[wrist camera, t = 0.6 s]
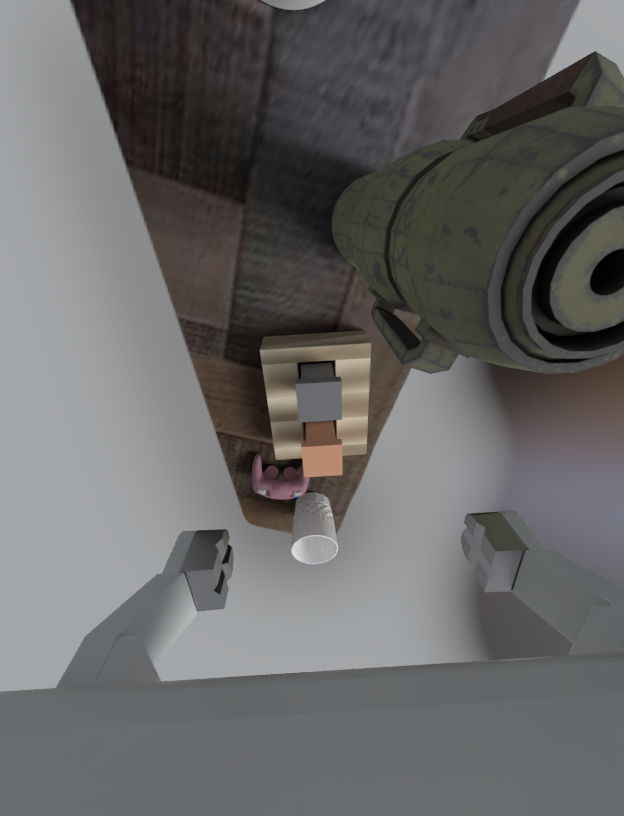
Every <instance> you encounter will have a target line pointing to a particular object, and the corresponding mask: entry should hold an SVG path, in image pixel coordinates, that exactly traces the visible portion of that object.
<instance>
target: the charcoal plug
mask: <svg viewBox="0 0 624 816" xmlns="http://www.w3.org/2000/svg"><path fill="white" fill-rule="evenodd" d="M296 395H297V406H298V417H299V422H314V421H330V420H342V380H341V377H334V372H333V367H332V362H330V363H315V364H301V379H296Z"/></svg>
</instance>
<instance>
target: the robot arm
mask: <svg viewBox="0 0 624 816" xmlns="http://www.w3.org/2000/svg"><path fill="white" fill-rule="evenodd" d="M262 1H263V2H265V3H267V4H269V5H272V6H274V7H277V8H281V9H287V10H300V9H306V8H310V7H313V6H315V5H317V4H319V3H321V2H323V1H325V0H262ZM464 523H465V525H466V526H467V528H466V529H465V530H464V531H463V532H462V537H461V542H462V548H463V551H464V554H465V556H466V558H467V560H468V561H469V562H470V563H471V564H473V565H474V566H475V567H476V570H475V575H476V577H477V579H478V580H479V582H480V584H481V586H482V588H483V589H484V591H485V592H501V591H502V592H503V591H512V593H513V594H514V595H515V596H517V597H518V598H519V599H520V600H522V601H523V602H524V603H525V604H526V605H528V606H529V607H530V608H531V609H532V610H533V611H535V612H536V613H537V614H538V615H539V616H541V617H542V618H543V619H544V620H545V621H546V622H548V623H549V624H550V625H551V626H553V627H554V628H555V629H556V630H557V631H558V632H560V633H561V634H562V635H563V636H564V637H565V638H567V639H568V640H569V641H570V642H572V643H573V647H572V648H571V650H570V652H569V655H566V656H550V657H534V658H519V659H503V660H488V661H472V662H457V663H443V664H442V663H441V664H427V665H410V666H397V667H396V666H395V667H379V668H364V669H350V670H335V671H334V670H333V671H319V672H302V673H287V674H271V675H256V676H241V677H226V678H225V677H224V678H209V679H194V680H177V681H162V682H161V680H160V678H159V676H158V674H157V672H156V669H155V666H156V665H157V664H158V663H159V662H160V660H161V659H162V658H163V656H164V655H165V654H166V653H167V651H168V650H169V649H170V647H171V646H172V645H173V644H174V642H175V641H176V640H177V639H178V637H179V636H180V635H181V633H182V632H183V631H184V630H185V628H186V627H187V626H188V624H189V623H190V622H191V621H192V619H193V618H194V616H196V614H197V611H206V610H217V609H224V606H225V602H226V597H227V593H228V585H227V580H228V579H229V578H230V577H231V575H232V570H233V560H234V559H233V550H232V547H231V546H230V545H229V544H228V542H229V538H230V537H229V533H228V530H226V529H224V530H200V531H199V530H198V531H183V532H182V533H181V534H180V535H179V536H178V539H177V541H176V543H175V546H174V548H173V550H172V552H171V554H170V557H169V559H168V561H167V564H166V566H165V568H164V570H163V573H162V574H157V575H156V576H155V577H153V578H152V579H151V580H150V581H149V582H148V583H146V584H145V585H144V586H143V587H142V588H141V589H140V590H139V591H137V592H136V593H135V594H134V595H133V596H131V597H130V598H129V599H128V600H127V601H126V602H125V603H123V604H122V605H121V606H120V607H119V608H118V609H116V610H115V611H114V612H113V613H112V614H111V615H110V616H108V617H107V618H106V619H105V620H104V621H103V622H101V623H100V624H99V625H98V626H97V627H96V628H94V629H93V630H92V631H91V632H90V633H89V634H88V635H86V636H85V638H84V640H83V641H82V643H81V645H80V647H79V648H78V650H77V652H76V654H75V656H74V657H73V659H72V661H71V662H70V664H69V666H68V668H67V669H66V671H65V673H64V674H63V676H62V678H61V680H60V682H59V683H58V685H57V687H56V688H52V689H35V690H20V691H4V692H0V816H624V589H623V588H621V587H619V586H618V585H616V584H614V583H612V582H611V581H609V580H607V579H605V578H603V577H602V576H600V575H598V574H596V573H594V572H593V571H591V570H589V569H587V568H585V567H584V566H582V565H580V564H578V563H576V562H575V561H573V560H571V559H569V558H567V557H565V556H564V555H562V554H560V553H559V552H557V551H555V550H553V549H547V548H546V547H545V546H544V545H543V544H542V542H541V541H540V540H539V539H538V538H537V537H536V535H535V534H534V533H533V532H532V530H531V529H530V528H529V527H528V526H527V525H526V523H525V522H524V521H523V520H522V519H521V517H520V516H519V515H518V514H517V513H516V512H515V511H513V510H510V511H498V512H483V513H471V514H467V515H466V516H465V521H464Z"/></svg>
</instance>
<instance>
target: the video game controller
mask: <svg viewBox="0 0 624 816" xmlns="http://www.w3.org/2000/svg"><path fill="white" fill-rule="evenodd" d="M277 476H278V469H277V467H275V466H269V467H268V468H267V469H266V470H265V472H264V473H263V472H262V464H261V456H260V454H256V456H255V458H254V462H253V468H252V487H253V490H254V491H255V492H256V493H257V494H259V495H263V496H265V497H268V498H272V499H279V500H284V499H292V498H297V497H301V496H303V495H304V494H305V492H306V490H307V487H308V484H309V477H304V471H303V462H302V465H301V469H300V474H299V475H298V474H297V472H296V470H295V469H294V468H293V467H287V468H286V469H285V470H284V474H283V476H284V479H285V480H286V481H284V480H275V479H276V478H277Z"/></svg>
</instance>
